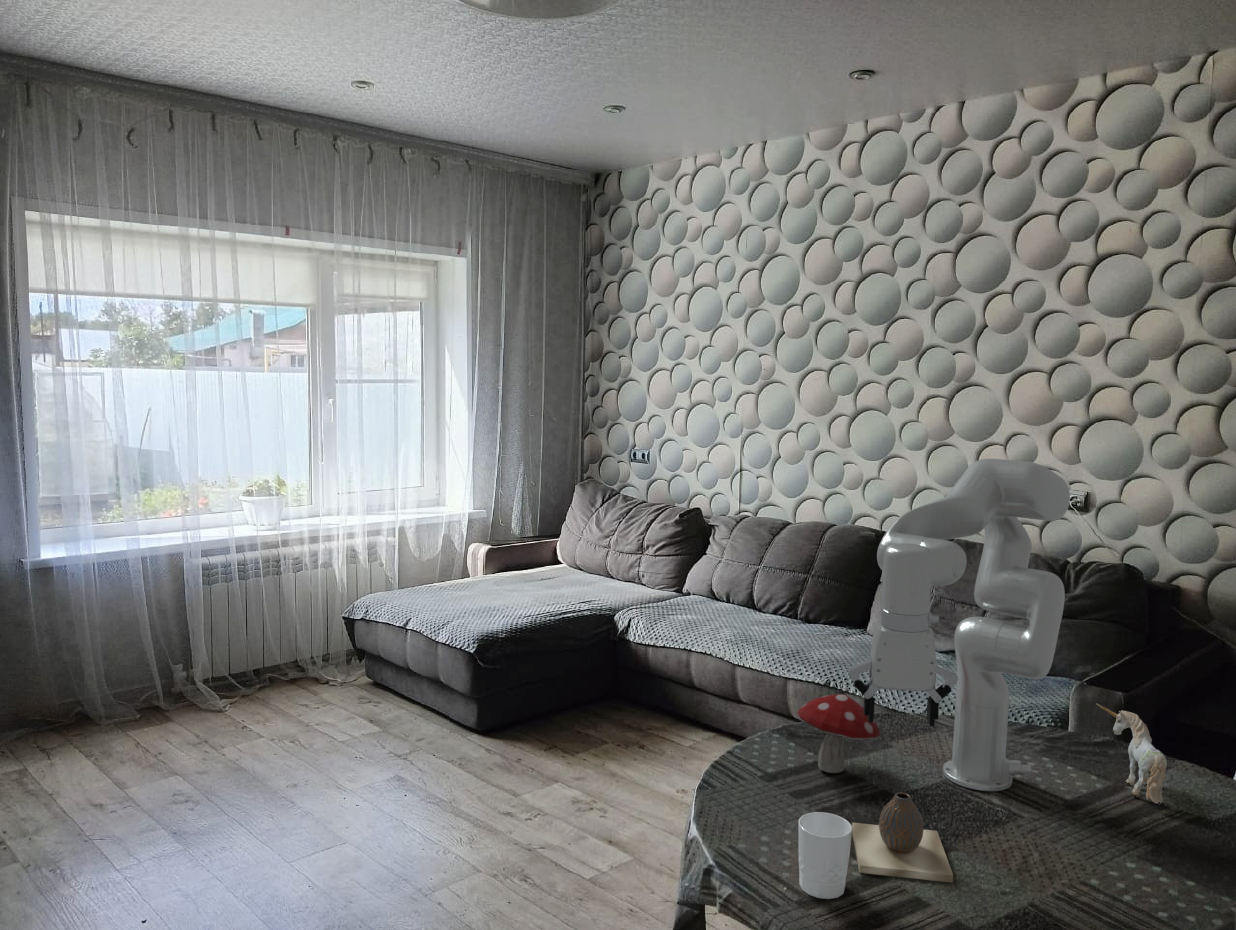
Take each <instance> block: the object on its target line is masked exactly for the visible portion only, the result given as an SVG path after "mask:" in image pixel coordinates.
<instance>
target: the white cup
mask: <svg viewBox="0 0 1236 930" xmlns="http://www.w3.org/2000/svg"><path fill="white" fill-rule="evenodd" d="M797 822H798V839H797V840H798V841H797V842H798V847H797V848H798V850H797V851H798V869H799V876H798V877H799V878H798V881H799V882H798V883H799V886H800V888H801V890H802V891H803V892H805V893H806V894H807V895H809V896H811V897H813V898H817V899H825V900H832V899H837V898H839V897H841V896H842V895H843V894H845V893H844V892H845V890H846V880H847V879H846V878H847V875H848V869H849V868H848V867H849V860H850V854H851V853H850V851H851V845H852V844H851V842H852V835H853V834H852V823H850V822H849V821H848V820H847V819H845V818H844V817H842V816H840V815H837V814H834V813H829V812H823V811H821V812H820V811H816V812H815V811H814V812H809V813H804V814H802V815H801V816H800V817H799V819H798V820H797Z"/></svg>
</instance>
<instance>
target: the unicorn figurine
mask: <svg viewBox="0 0 1236 930" xmlns="http://www.w3.org/2000/svg"><path fill="white" fill-rule="evenodd" d="M1095 705H1096V706H1097V707H1098V708H1100V709H1102V710H1103V711H1105V712H1106V713H1108V714H1109V715H1111V716H1112V717H1114V718H1116V719H1115V723H1114V724H1113V728H1112V732H1113V733H1114V735H1116V736H1118V735H1119V736H1121V735H1122V732H1123V731H1124V730H1125V729H1127V728H1130V730H1131V733H1132V739H1131V741H1130V743H1129V745H1128V749H1127V751H1128V756H1129V762H1130V763H1129V775H1128V778H1127V779H1126V780H1125V782H1127V783H1130V784H1129V785H1130V786H1131V785H1134V786H1133V789H1132V791H1131V793H1132V794H1134V795H1139V796H1140V792H1141V790H1142V785H1143V784H1144V782H1147V785H1146V795H1145V798H1146V800H1147V801H1148V800H1149V799H1150V800H1151V801H1152V803H1153V802H1154V803H1153V804H1158V803H1159V802H1160V803H1161V802H1163V796H1162V789H1163V787H1164V786H1163V782H1164V780H1165V777H1166V771H1167V765H1168V760H1167V758H1166V756H1165V755H1164V754H1163V752H1162V751H1160V750H1159V749H1156V748H1155V746H1154V745H1153V744H1152V742H1153V740H1152V737H1151V736H1150V730H1149V729H1148V726H1147V724H1146V723H1144V721H1143V720H1142V719H1141V718H1140V716H1139V715H1138V714H1137V713H1134V712H1130V711H1127V710H1122V709H1121V711H1120V710H1119V711H1118V712H1119V713H1118V714H1117V713H1116V712H1114V711H1112V710H1110V709H1109V708H1107V707H1105V706H1102V705H1101V704H1099V703H1095ZM1136 762H1137V763H1136ZM1136 764H1138V780H1137V782H1136V779H1137V778H1136V775H1135V771H1136V768H1137V766H1136ZM1149 772H1150V773H1149ZM1132 794H1131V795H1132ZM1161 804H1162V803H1161Z"/></svg>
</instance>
